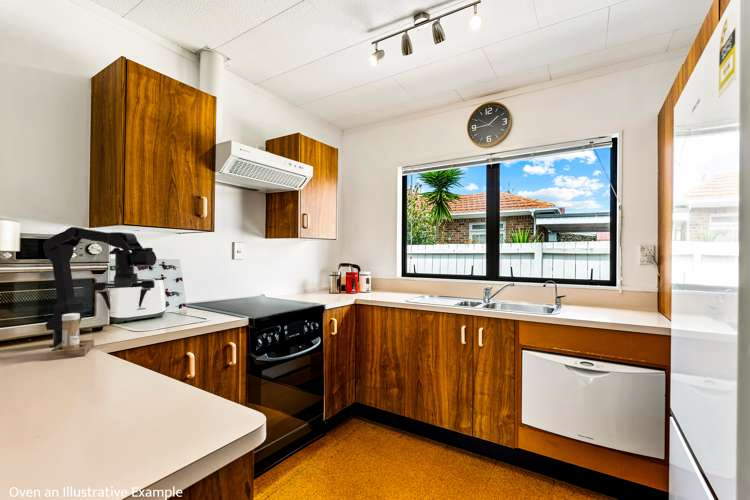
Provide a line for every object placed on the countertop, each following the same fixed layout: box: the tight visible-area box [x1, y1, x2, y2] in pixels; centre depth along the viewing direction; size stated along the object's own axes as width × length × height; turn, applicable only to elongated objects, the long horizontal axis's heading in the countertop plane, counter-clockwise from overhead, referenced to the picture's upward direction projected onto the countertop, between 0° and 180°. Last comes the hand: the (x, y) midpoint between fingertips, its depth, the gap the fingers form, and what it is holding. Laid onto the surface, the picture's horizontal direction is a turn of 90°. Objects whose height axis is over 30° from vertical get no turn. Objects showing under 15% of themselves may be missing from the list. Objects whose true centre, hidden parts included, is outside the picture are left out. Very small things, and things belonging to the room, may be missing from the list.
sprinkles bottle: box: [62, 313, 80, 350], centre depth 119 cm, size 5×5×14 cm
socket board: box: [48, 338, 95, 361], centre depth 122 cm, size 9×16×2 cm, turn 29°
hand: (124, 308), depth 133 cm, fingers open, 9 cm apart
